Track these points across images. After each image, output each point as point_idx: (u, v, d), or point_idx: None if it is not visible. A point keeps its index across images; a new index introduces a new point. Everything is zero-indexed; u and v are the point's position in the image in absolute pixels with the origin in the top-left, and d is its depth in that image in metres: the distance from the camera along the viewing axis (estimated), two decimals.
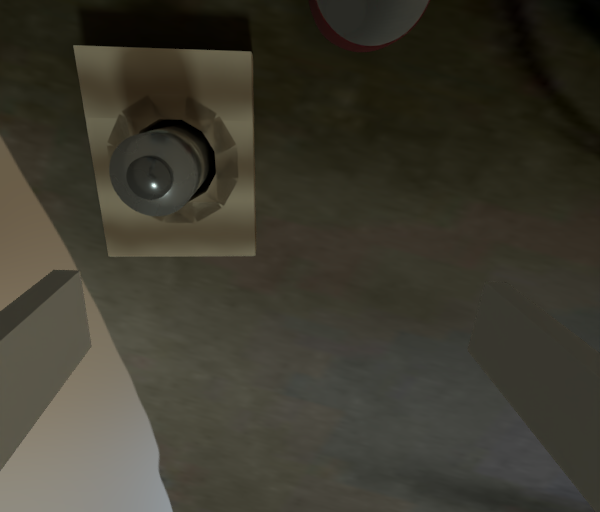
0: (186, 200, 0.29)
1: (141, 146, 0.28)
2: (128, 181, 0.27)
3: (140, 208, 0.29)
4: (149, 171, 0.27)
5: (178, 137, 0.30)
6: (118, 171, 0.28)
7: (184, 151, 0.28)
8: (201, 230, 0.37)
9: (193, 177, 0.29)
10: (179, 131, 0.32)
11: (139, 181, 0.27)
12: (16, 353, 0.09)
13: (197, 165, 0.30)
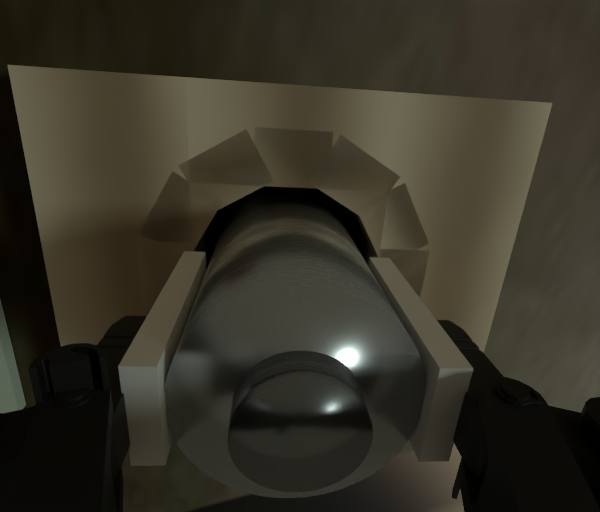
0: (387, 320, 0.08)
1: (206, 423, 0.09)
2: (305, 489, 0.09)
3: (392, 441, 0.10)
4: (276, 436, 0.08)
5: (199, 295, 0.10)
6: None
7: (219, 308, 0.08)
8: (451, 236, 0.15)
9: (309, 291, 0.08)
10: (206, 271, 0.13)
11: (308, 463, 0.08)
12: (188, 313, 0.11)
13: (278, 256, 0.10)
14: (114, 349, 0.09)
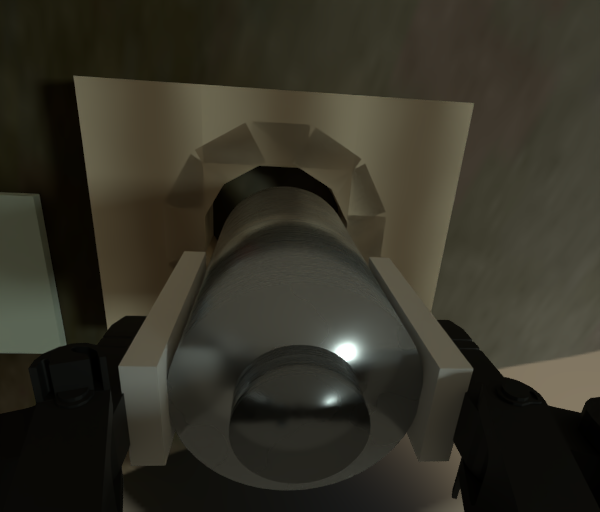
0: (384, 315, 0.09)
1: (207, 416, 0.09)
2: (305, 480, 0.09)
3: (389, 434, 0.10)
4: (276, 427, 0.08)
5: (201, 291, 0.11)
6: None
7: (220, 302, 0.08)
8: (403, 206, 0.20)
9: (308, 286, 0.08)
10: (207, 268, 0.13)
11: (307, 454, 0.09)
12: (188, 314, 0.11)
13: (278, 253, 0.10)
14: (114, 349, 0.09)
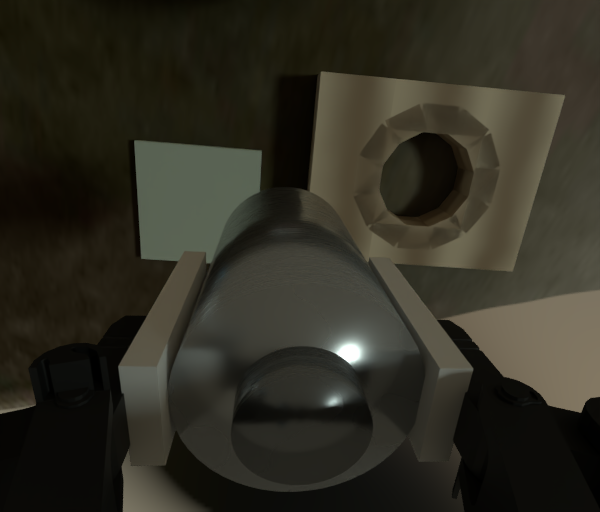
0: (387, 316, 0.09)
1: (209, 418, 0.09)
2: (307, 481, 0.09)
3: (392, 436, 0.10)
4: (278, 429, 0.08)
5: (203, 292, 0.11)
6: None
7: (223, 304, 0.08)
8: (512, 162, 0.30)
9: (310, 288, 0.08)
10: None
11: (309, 456, 0.08)
12: (187, 314, 0.11)
13: (280, 254, 0.10)
14: (114, 349, 0.09)
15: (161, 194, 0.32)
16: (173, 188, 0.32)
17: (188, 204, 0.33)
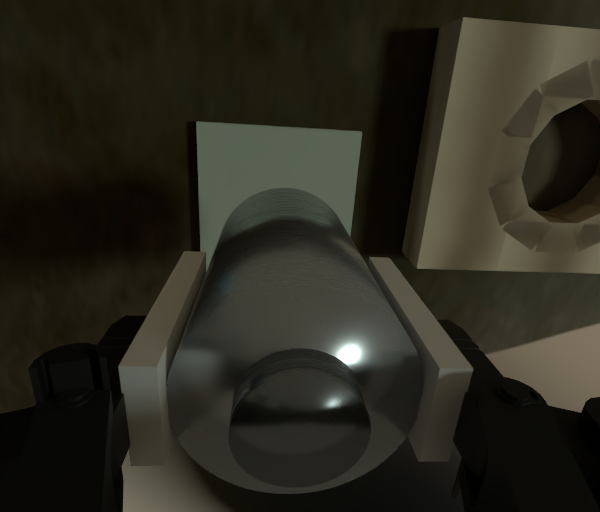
0: (385, 319, 0.08)
1: (207, 420, 0.09)
2: (305, 484, 0.09)
3: (390, 438, 0.10)
4: (276, 432, 0.08)
5: (201, 294, 0.10)
6: None
7: (220, 306, 0.08)
8: None
9: (308, 290, 0.08)
10: None
11: (307, 458, 0.08)
12: (188, 313, 0.11)
13: (278, 256, 0.10)
14: (114, 349, 0.09)
15: (229, 192, 0.25)
16: (245, 184, 0.25)
17: None
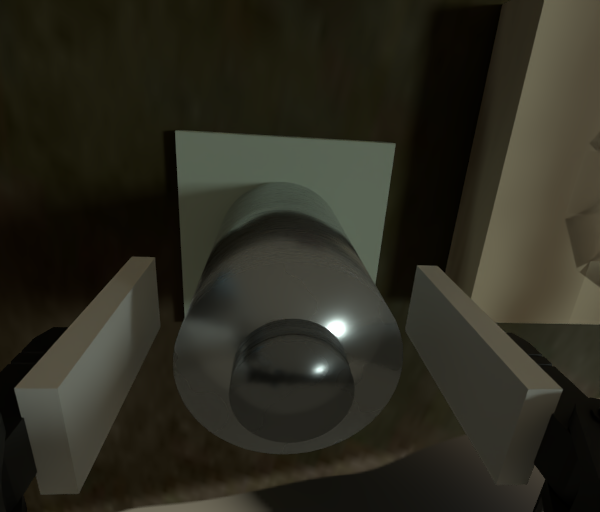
0: (367, 292, 0.10)
1: (209, 384, 0.10)
2: (297, 439, 0.10)
3: (374, 402, 0.11)
4: (270, 390, 0.09)
5: (204, 274, 0.12)
6: None
7: (222, 280, 0.09)
8: None
9: (299, 266, 0.09)
10: None
11: (298, 415, 0.10)
12: (121, 325, 0.10)
13: (273, 239, 0.11)
14: (29, 365, 0.09)
15: (221, 222, 0.19)
16: None
17: None
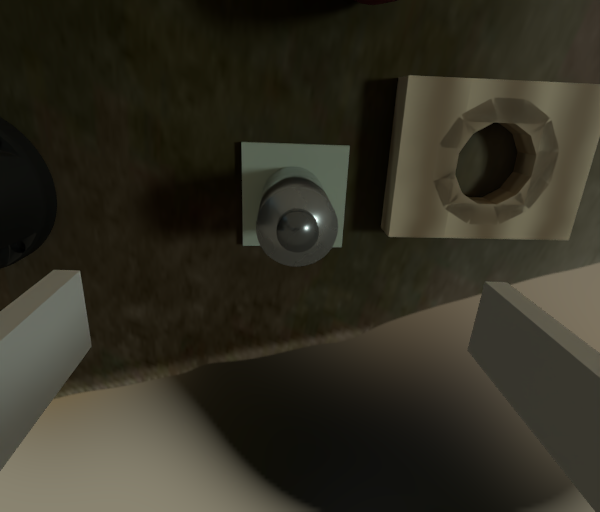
0: (323, 198, 0.28)
1: (268, 234, 0.29)
2: (299, 251, 0.28)
3: (328, 244, 0.29)
4: (290, 230, 0.28)
5: (263, 198, 0.30)
6: (291, 258, 0.29)
7: (273, 194, 0.28)
8: (569, 145, 0.35)
9: (299, 188, 0.27)
10: (262, 197, 0.33)
11: (300, 241, 0.28)
12: (16, 353, 0.09)
13: (290, 183, 0.29)
14: None
15: (262, 188, 0.37)
16: None
17: None
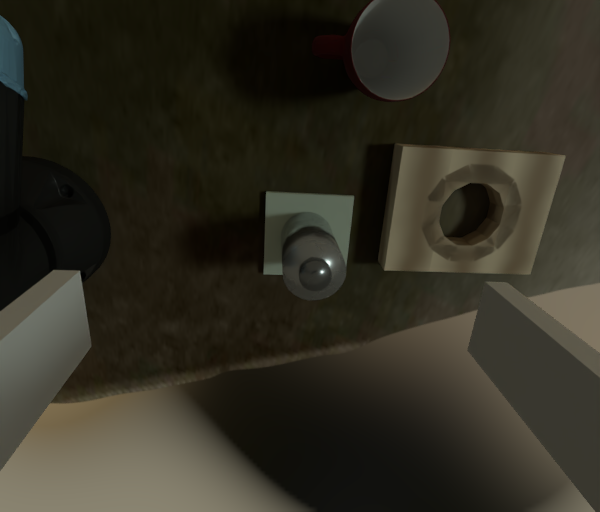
0: (335, 250, 0.36)
1: (291, 275, 0.37)
2: (316, 290, 0.36)
3: (338, 284, 0.37)
4: (309, 274, 0.36)
5: (287, 246, 0.38)
6: (308, 294, 0.38)
7: (297, 246, 0.36)
8: (530, 200, 0.44)
9: (317, 242, 0.36)
10: (284, 241, 0.41)
11: (316, 282, 0.36)
12: (16, 353, 0.09)
13: (309, 235, 0.37)
14: None
15: (281, 228, 0.45)
16: None
17: None
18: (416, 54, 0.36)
